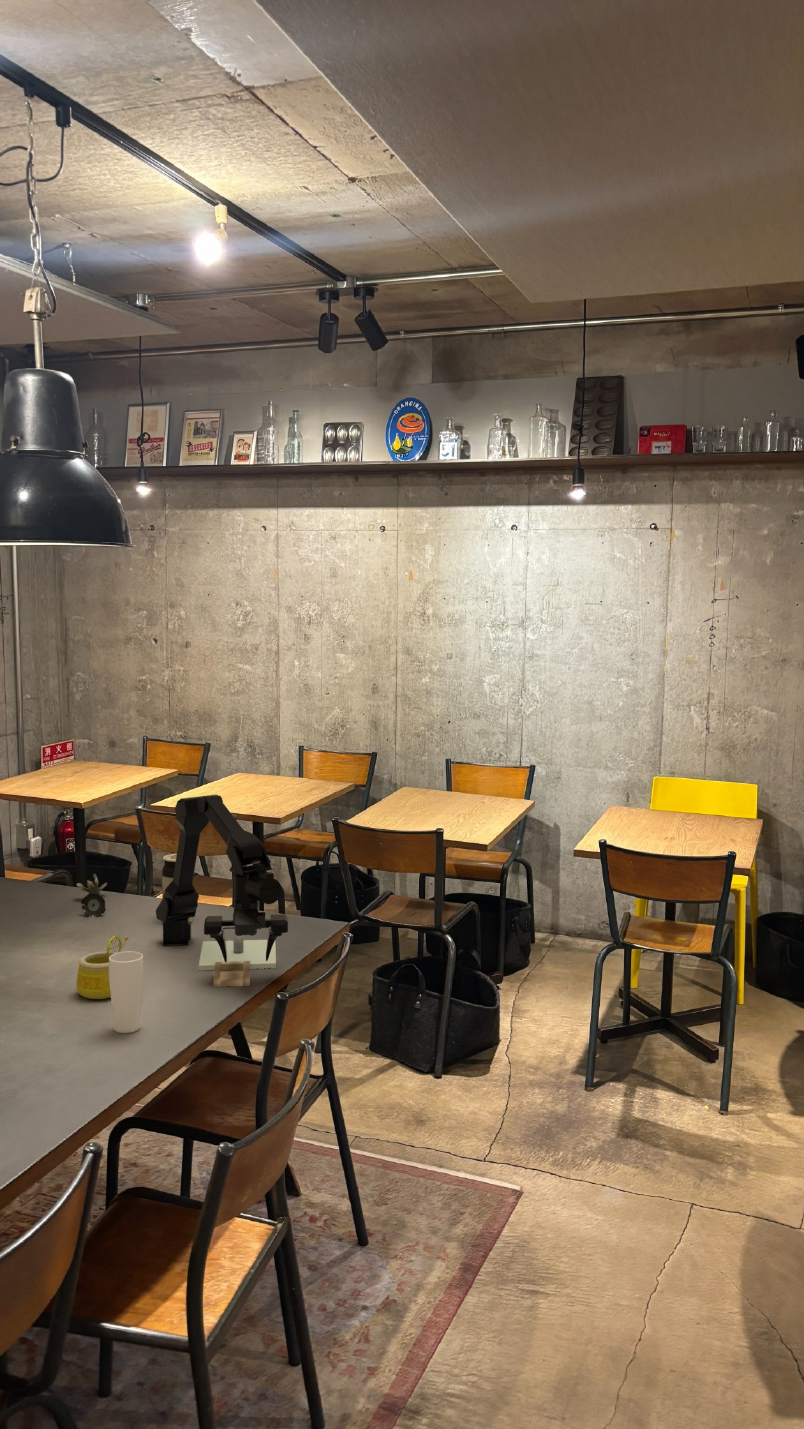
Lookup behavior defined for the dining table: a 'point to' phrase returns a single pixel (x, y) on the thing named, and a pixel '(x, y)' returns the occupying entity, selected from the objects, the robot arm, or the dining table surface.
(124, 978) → the drinking glass
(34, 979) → the dining table surface
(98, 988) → the mug
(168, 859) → the travel mug
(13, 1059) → the dining table surface
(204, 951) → the pale green base plate
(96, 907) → the artificial flower
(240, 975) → the square wooden frame
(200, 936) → the dining table surface
